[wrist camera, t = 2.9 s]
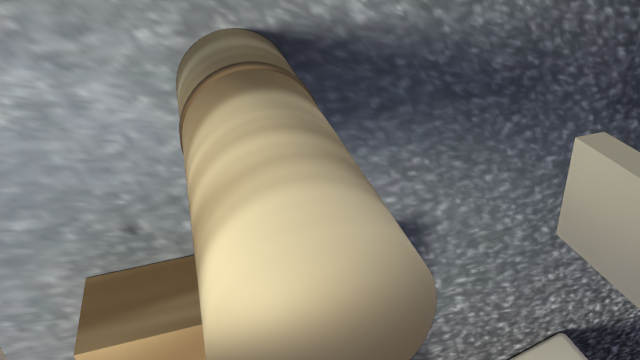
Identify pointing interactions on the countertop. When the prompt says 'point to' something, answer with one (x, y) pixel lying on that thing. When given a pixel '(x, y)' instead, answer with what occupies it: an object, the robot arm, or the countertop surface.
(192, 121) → the peg
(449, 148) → the countertop surface
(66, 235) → the countertop surface
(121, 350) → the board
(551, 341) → the container
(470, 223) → the countertop surface
